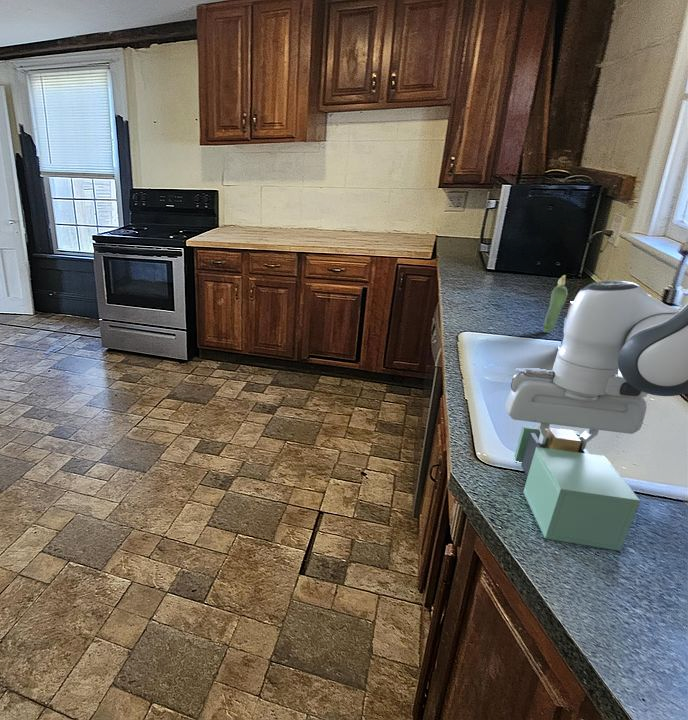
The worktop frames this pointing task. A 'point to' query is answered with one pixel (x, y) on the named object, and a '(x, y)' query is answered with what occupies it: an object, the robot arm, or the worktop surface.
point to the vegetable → (555, 304)
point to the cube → (563, 440)
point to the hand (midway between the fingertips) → (561, 445)
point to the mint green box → (580, 498)
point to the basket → (531, 446)
